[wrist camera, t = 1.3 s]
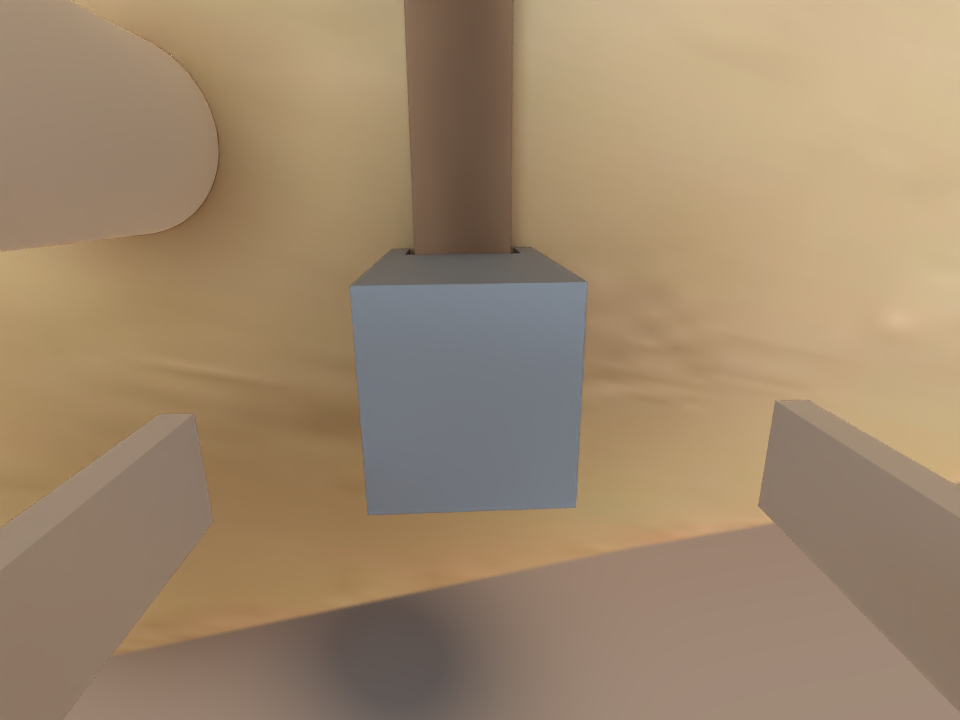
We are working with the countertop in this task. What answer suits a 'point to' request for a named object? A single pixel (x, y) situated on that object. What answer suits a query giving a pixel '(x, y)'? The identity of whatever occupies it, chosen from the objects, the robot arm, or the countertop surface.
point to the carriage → (469, 381)
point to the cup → (94, 130)
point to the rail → (460, 124)
